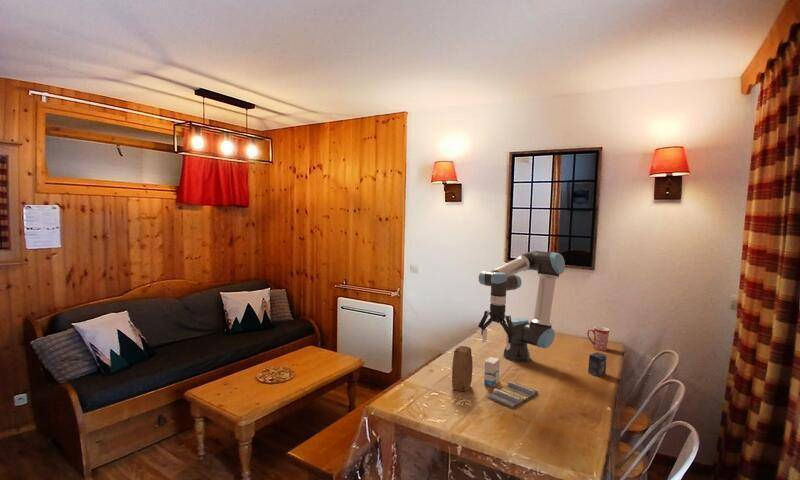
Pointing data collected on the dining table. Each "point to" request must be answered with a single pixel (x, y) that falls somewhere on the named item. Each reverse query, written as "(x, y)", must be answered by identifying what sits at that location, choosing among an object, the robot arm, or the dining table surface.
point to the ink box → (491, 371)
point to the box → (597, 364)
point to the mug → (600, 338)
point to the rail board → (512, 395)
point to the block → (462, 368)
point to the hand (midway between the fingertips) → (495, 345)
